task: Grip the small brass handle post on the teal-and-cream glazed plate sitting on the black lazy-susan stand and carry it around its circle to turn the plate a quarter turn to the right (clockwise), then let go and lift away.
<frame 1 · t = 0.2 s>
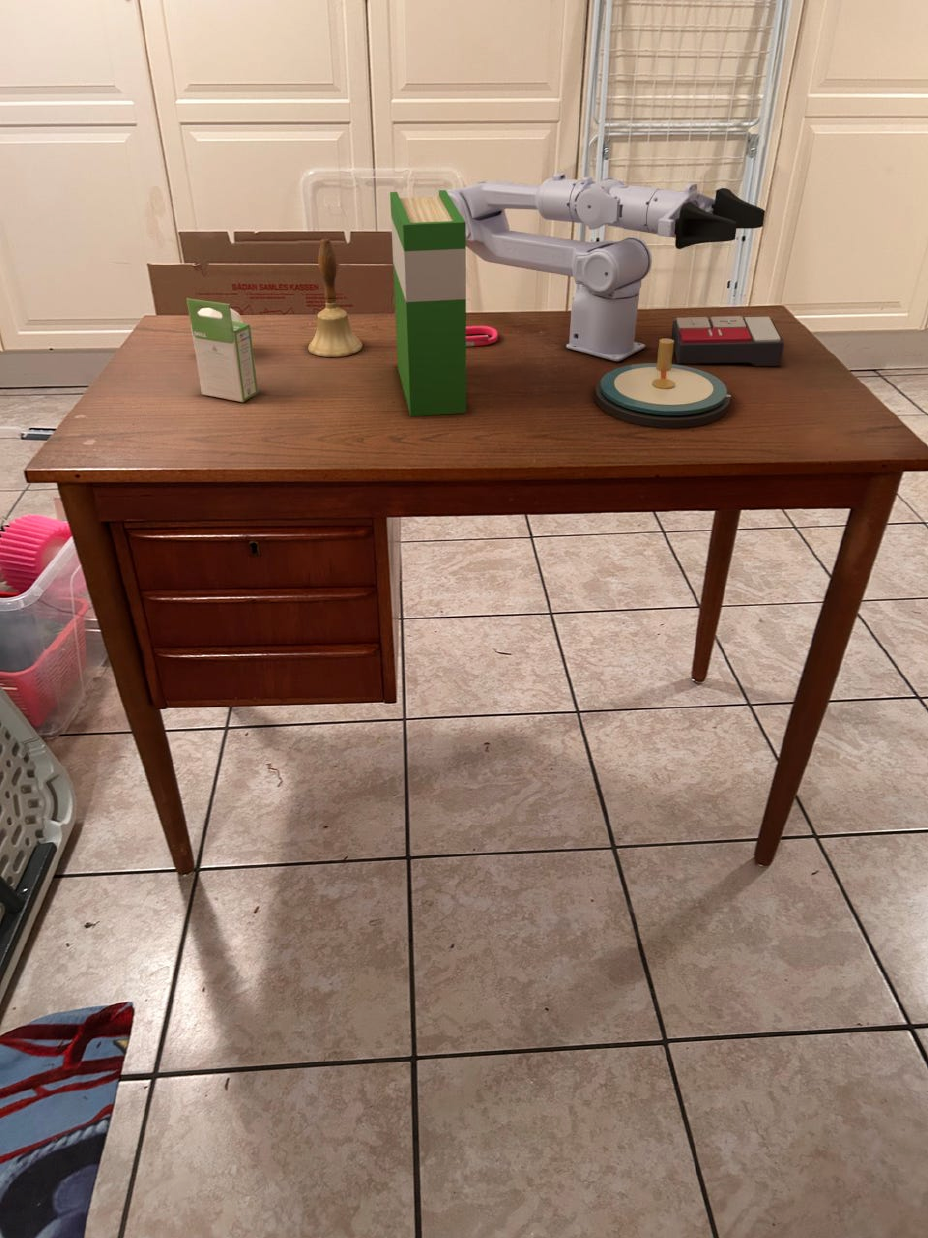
hand: (749, 224, 124), 21 cm above the table, tool horizontal, fingers open, 7 cm apart
stand: (661, 400, 130), on the table
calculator: (723, 353, 145), on the table
fitness band: (471, 341, 150), on the table
plate: (664, 373, 128), point 4 cm above the table, hinge at 0.0°
ink box: (231, 395, 132), on the table
hardback book: (430, 390, 134), on the table
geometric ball: (222, 356, 145), on the table
hand bell: (335, 349, 147), on the table
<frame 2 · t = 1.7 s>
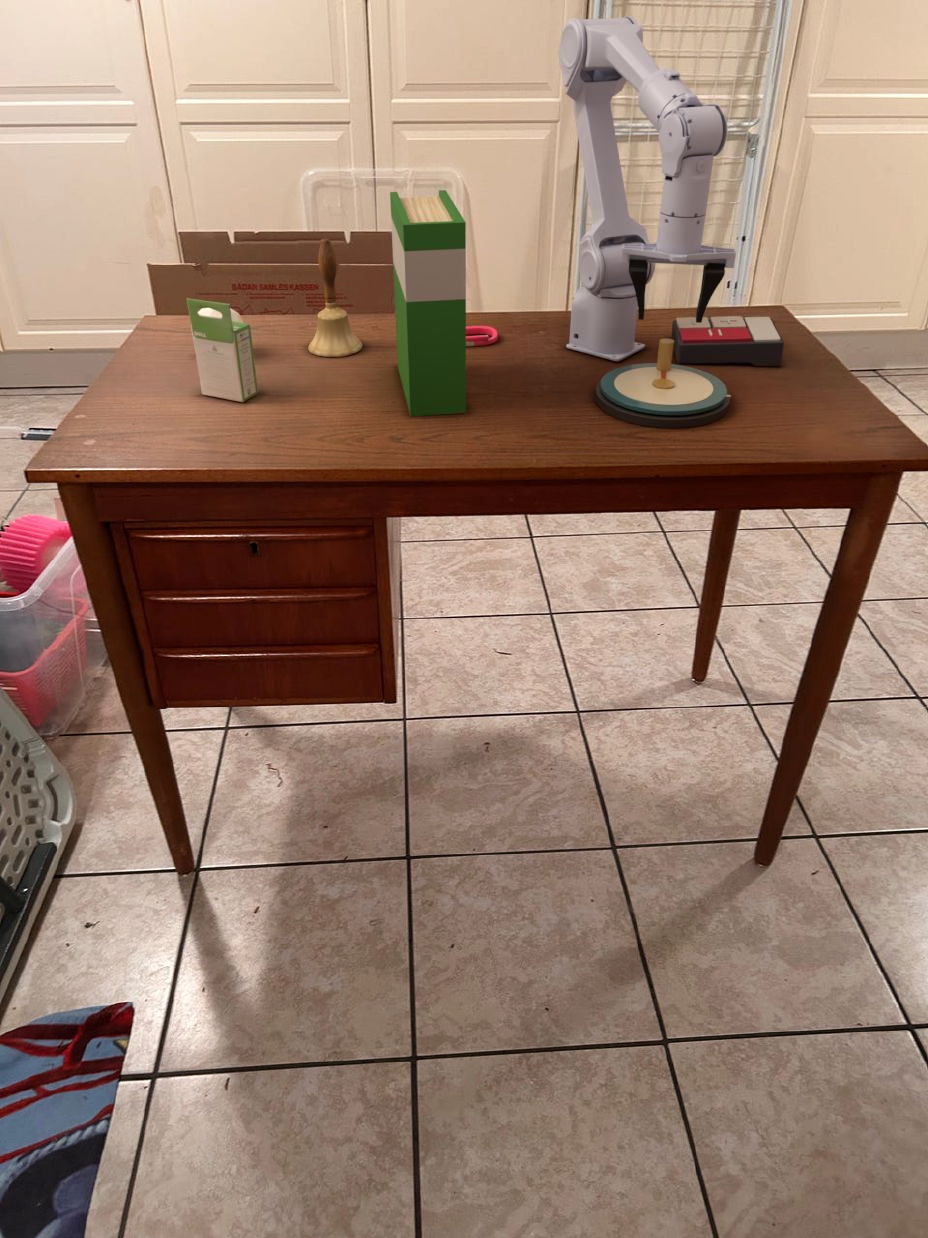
hand: (669, 318, 130), 9 cm above the table, tool pointing down, fingers open, 7 cm apart
nothing on the table moved.
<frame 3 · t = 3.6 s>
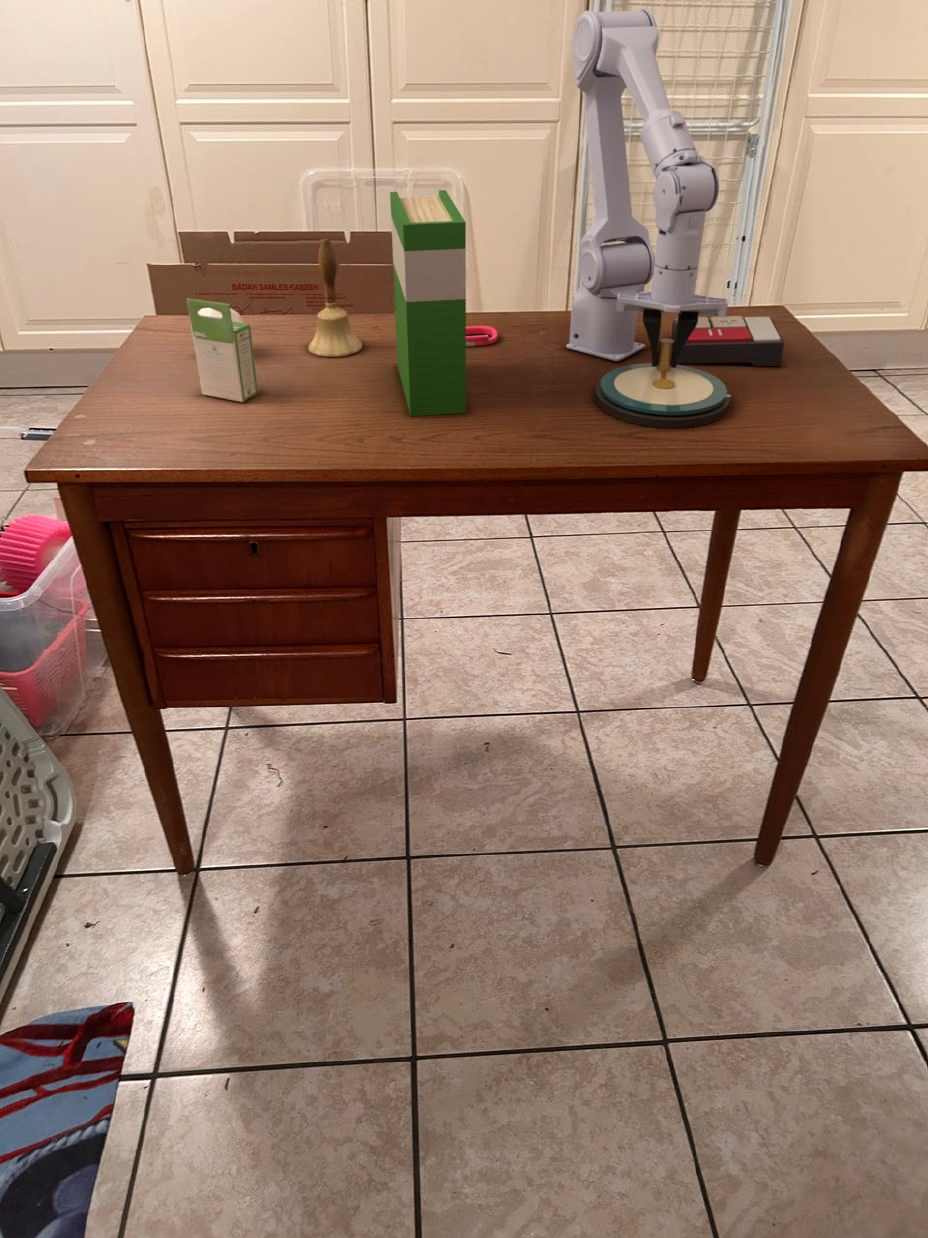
hand: (663, 364, 133), 3 cm above the table, tool pointing down, fingers closed on plate, 2 cm apart
plate: (664, 373, 128), point 4 cm above the table, hinge at -0.1°, touching gripper
everything else where it was.
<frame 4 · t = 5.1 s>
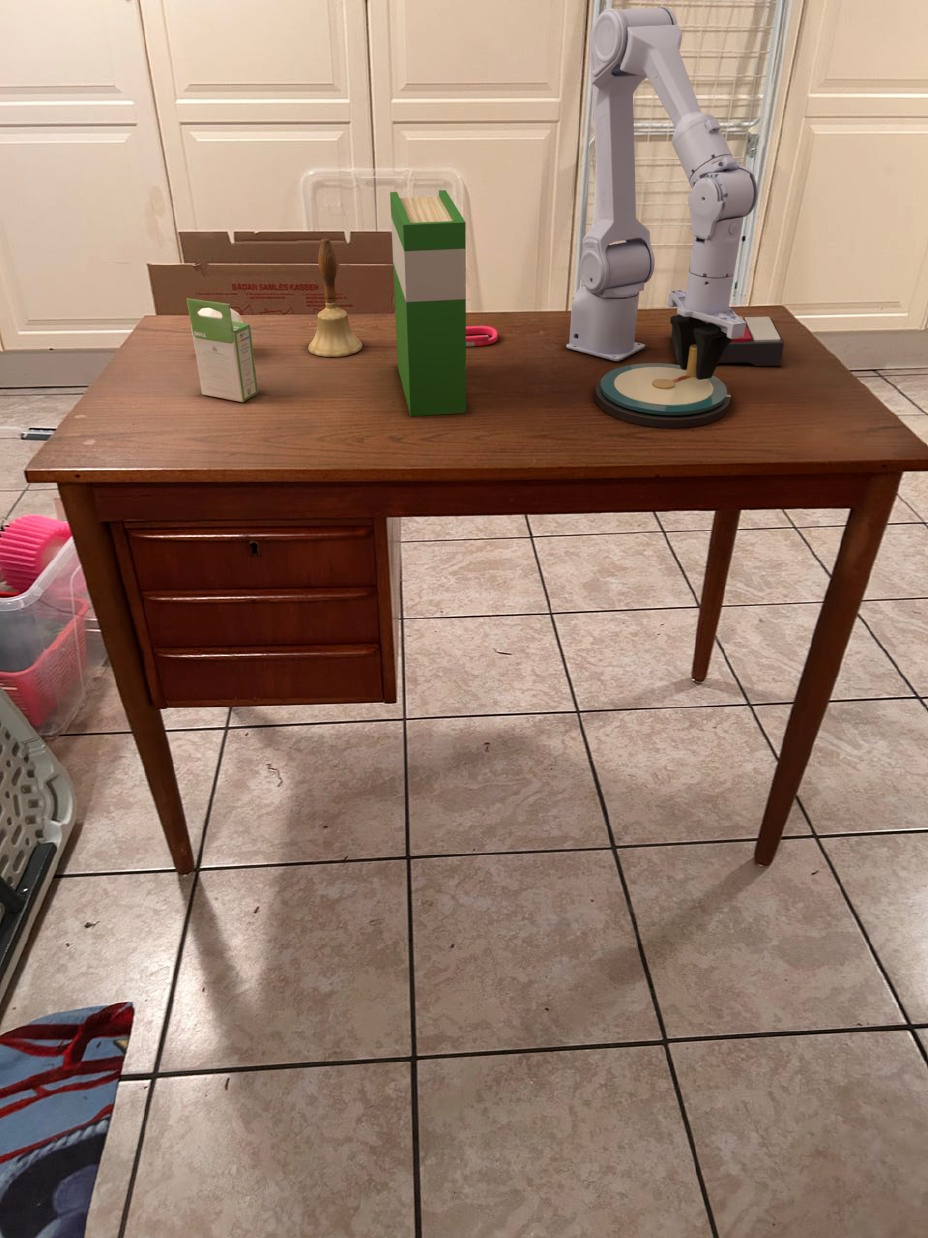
hand: (695, 373, 131), 3 cm above the table, tool pointing down, fingers open, 3 cm apart
plate: (664, 373, 128), point 4 cm above the table, hinge at -42.8°, touching gripper
everything else where it was.
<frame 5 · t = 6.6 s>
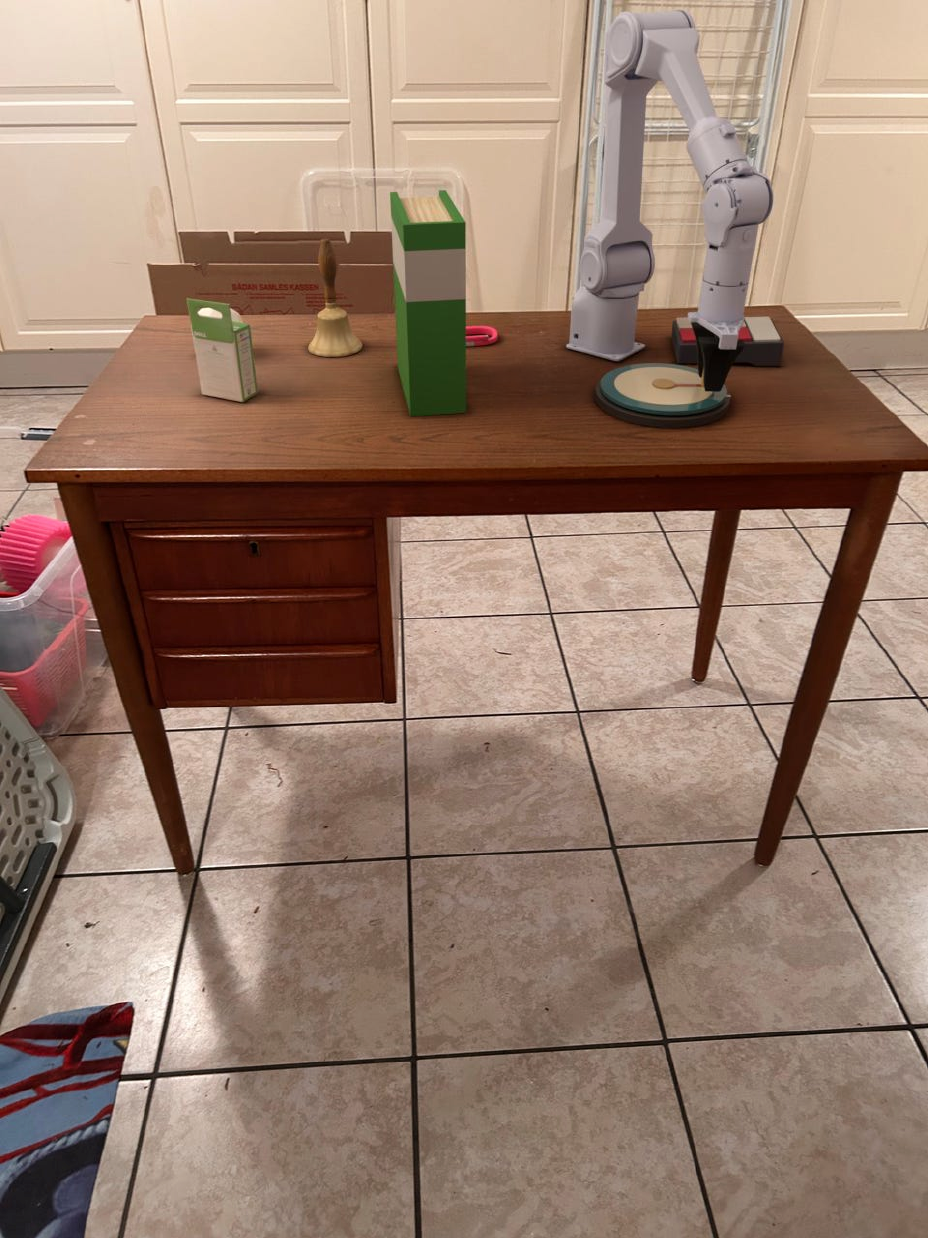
hand: (709, 383, 128), 3 cm above the table, tool pointing down, fingers open, 4 cm apart
plate: (664, 373, 128), point 4 cm above the table, hinge at -83.1°
everything else where it was.
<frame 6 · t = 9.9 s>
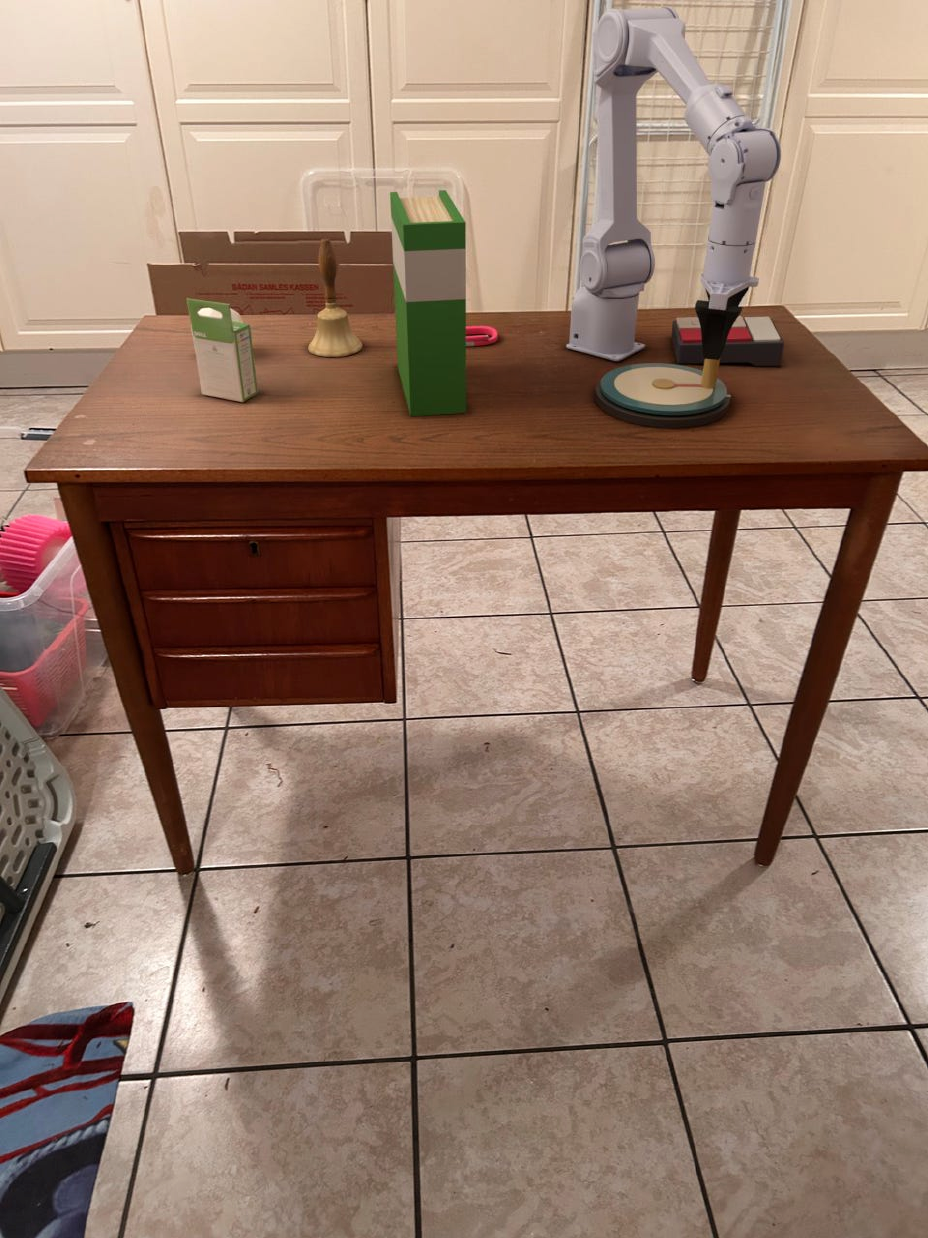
hand: (714, 348, 125), 8 cm above the table, tool pointing down, fingers open, 7 cm apart
nothing on the table moved.
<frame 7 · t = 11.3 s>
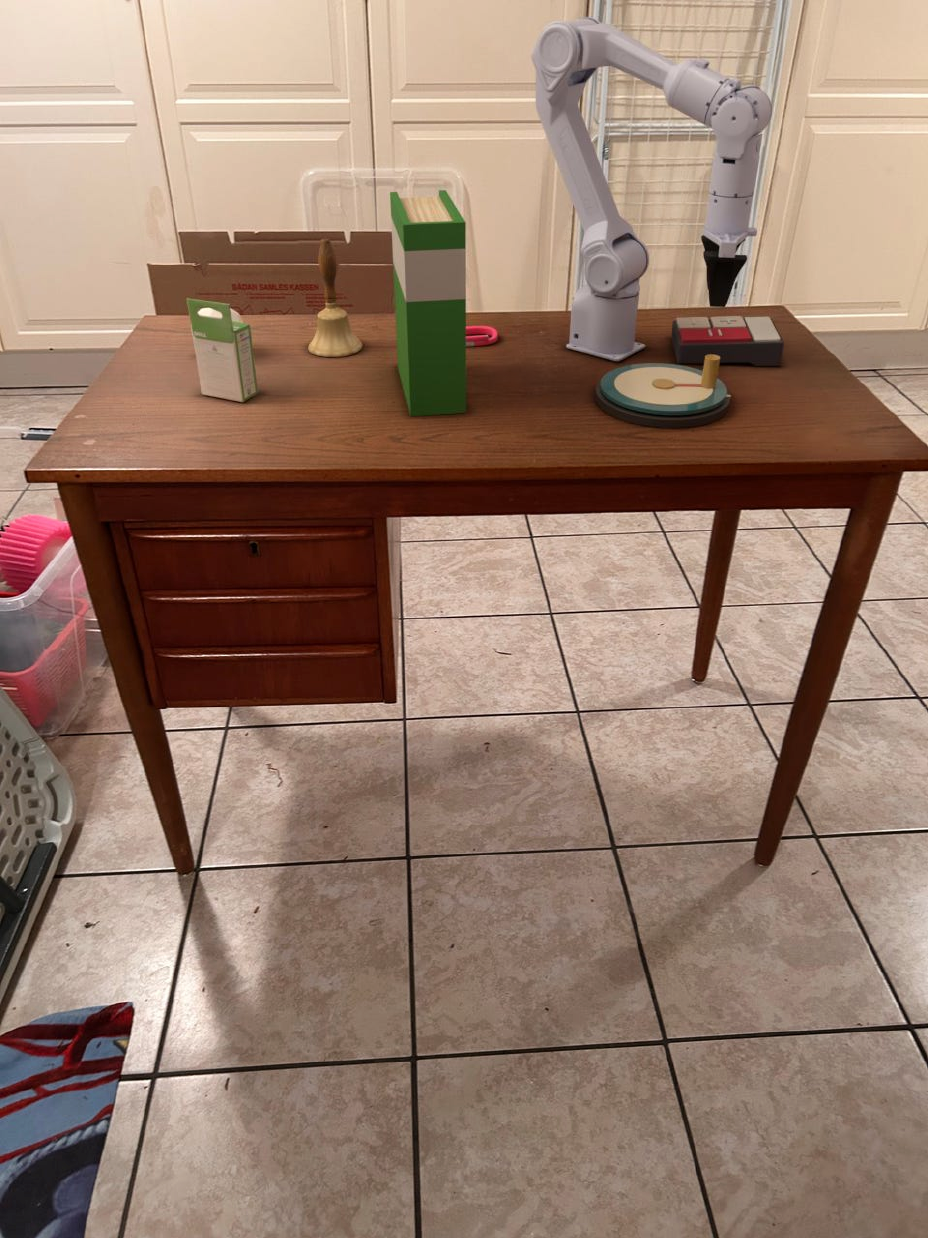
hand: (716, 297, 133), 10 cm above the table, tool pointing down, fingers open, 7 cm apart
nothing on the table moved.
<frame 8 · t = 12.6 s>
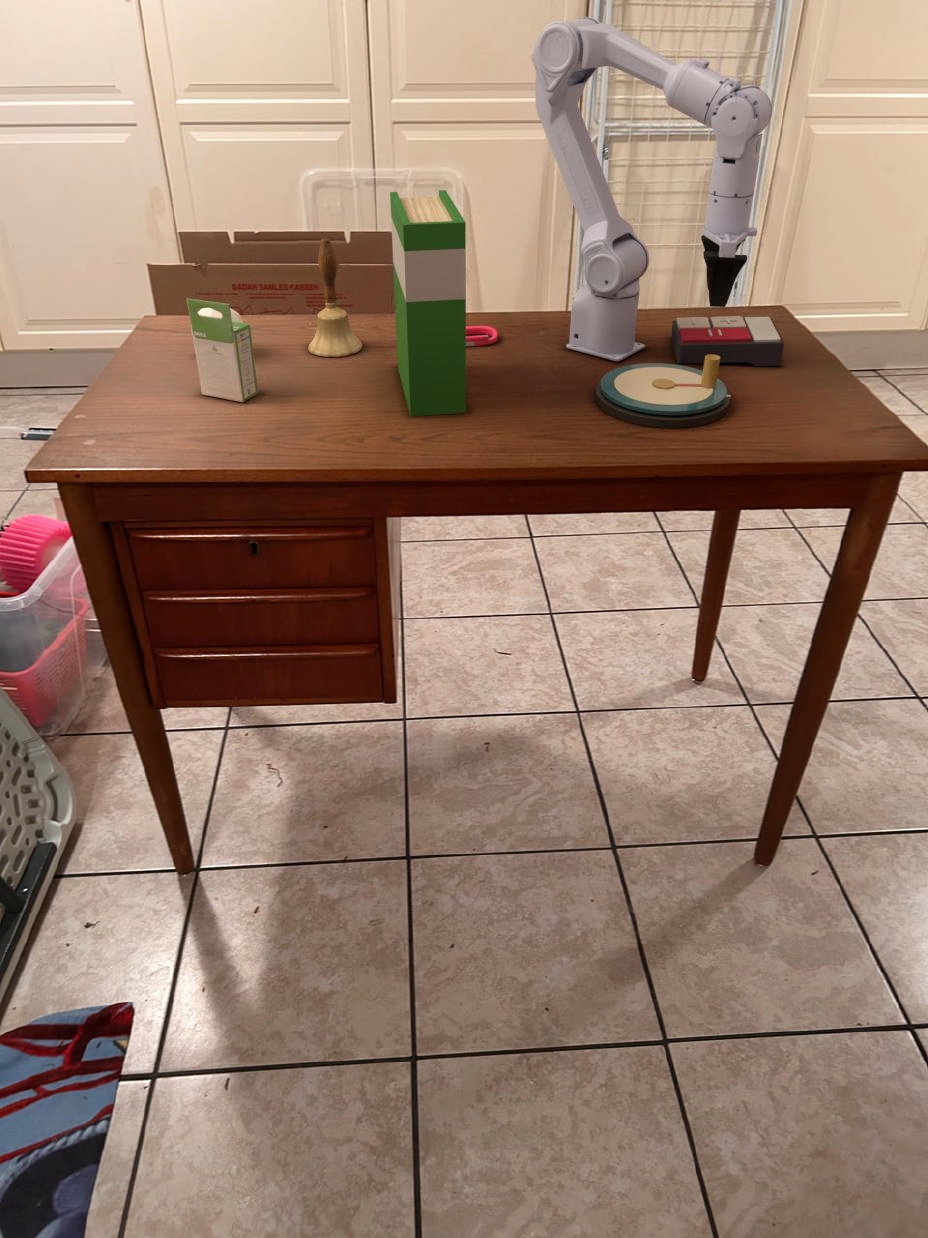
hand: (716, 297, 133), 10 cm above the table, tool pointing down, fingers open, 7 cm apart
nothing on the table moved.
at the end: plate at -83° (first picture: +0°) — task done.
